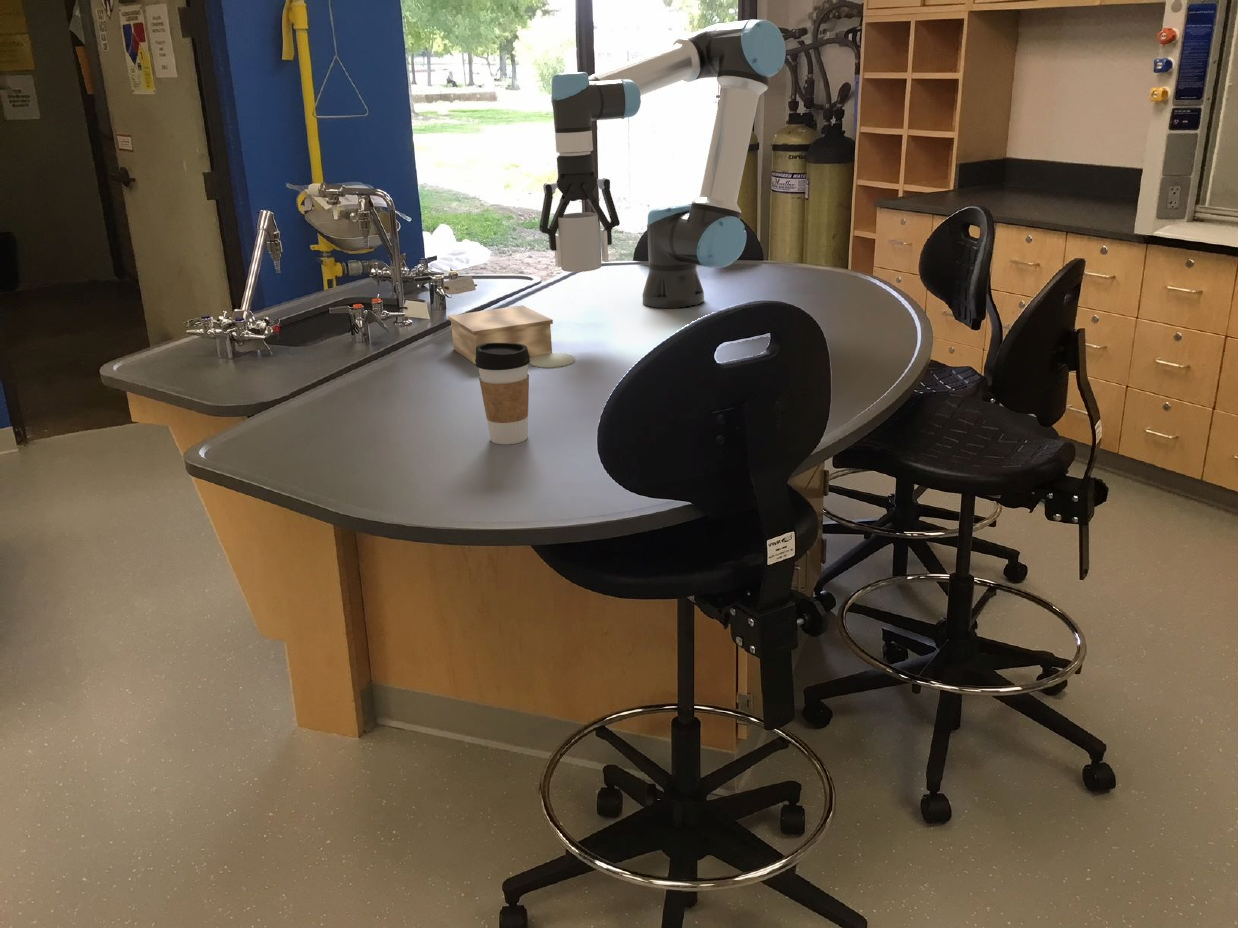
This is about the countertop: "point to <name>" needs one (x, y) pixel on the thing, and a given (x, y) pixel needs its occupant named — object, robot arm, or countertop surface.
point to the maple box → (501, 330)
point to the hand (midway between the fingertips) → (582, 263)
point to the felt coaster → (552, 360)
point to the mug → (580, 242)
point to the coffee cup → (505, 390)
